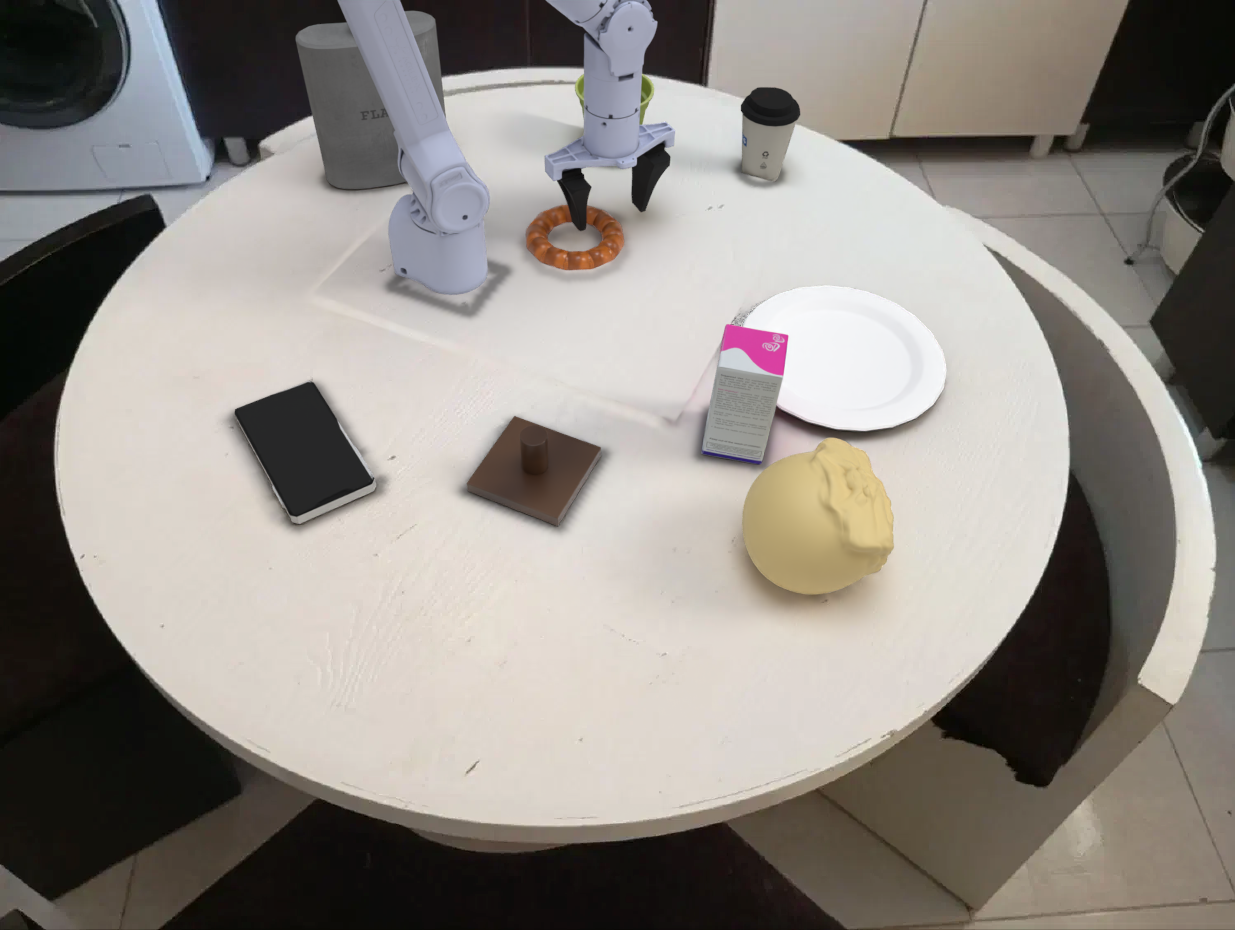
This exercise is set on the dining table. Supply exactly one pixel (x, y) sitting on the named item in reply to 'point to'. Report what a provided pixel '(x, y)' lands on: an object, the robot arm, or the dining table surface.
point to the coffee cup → (767, 131)
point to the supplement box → (744, 393)
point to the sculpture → (818, 519)
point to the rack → (534, 470)
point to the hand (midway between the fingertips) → (609, 216)
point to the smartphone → (304, 451)
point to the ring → (574, 259)
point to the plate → (852, 358)
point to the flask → (357, 102)
